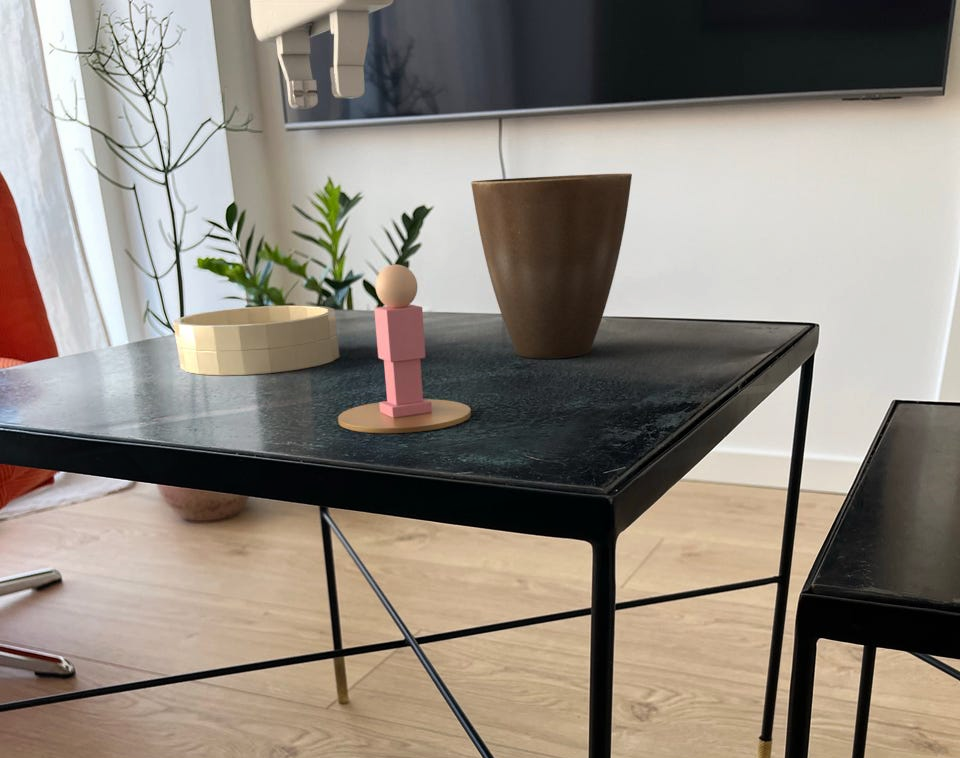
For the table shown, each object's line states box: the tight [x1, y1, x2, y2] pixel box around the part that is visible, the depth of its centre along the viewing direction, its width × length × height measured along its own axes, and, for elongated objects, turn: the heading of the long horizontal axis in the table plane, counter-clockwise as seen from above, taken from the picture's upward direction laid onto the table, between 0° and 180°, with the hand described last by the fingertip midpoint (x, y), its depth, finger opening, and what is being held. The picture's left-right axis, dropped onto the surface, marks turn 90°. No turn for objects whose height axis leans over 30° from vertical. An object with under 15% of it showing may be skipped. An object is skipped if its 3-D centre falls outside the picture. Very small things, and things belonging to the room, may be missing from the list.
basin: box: [172, 304, 340, 376], centre depth 100 cm, size 15×15×5 cm
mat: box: [337, 398, 472, 434], centre depth 76 cm, size 10×10×1 cm
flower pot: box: [470, 173, 633, 360], centre depth 97 cm, size 15×15×16 cm
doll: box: [373, 264, 432, 418], centre depth 74 cm, size 3×3×10 cm
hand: (325, 103), depth 70 cm, fingers open, 8 cm apart
